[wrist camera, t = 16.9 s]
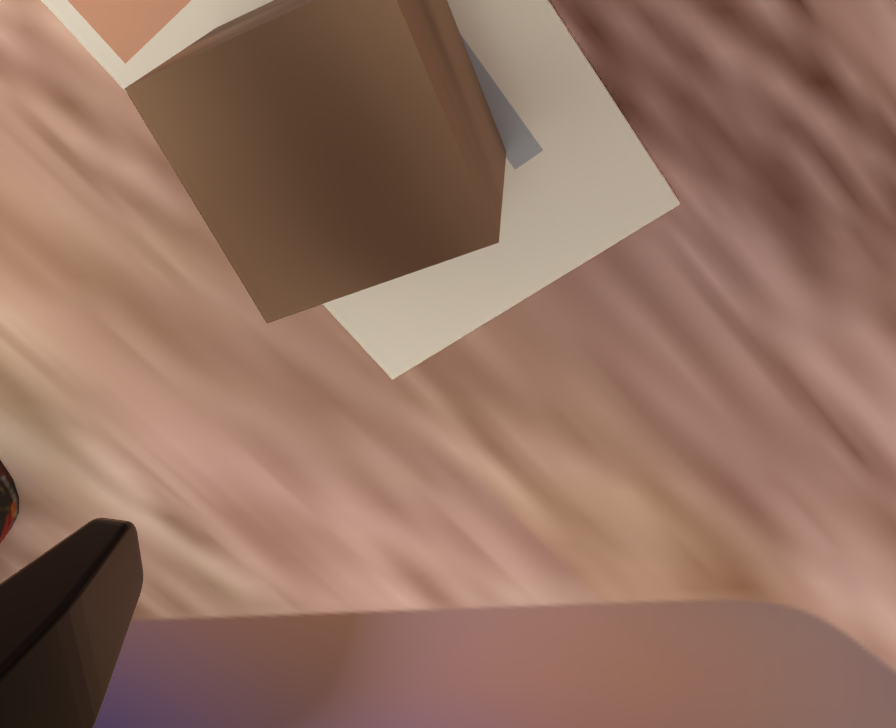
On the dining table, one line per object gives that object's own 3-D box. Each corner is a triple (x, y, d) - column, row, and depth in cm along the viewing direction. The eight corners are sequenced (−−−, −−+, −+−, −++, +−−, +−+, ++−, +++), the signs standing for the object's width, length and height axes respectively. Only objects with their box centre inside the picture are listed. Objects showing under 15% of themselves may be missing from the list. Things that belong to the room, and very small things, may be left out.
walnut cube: (320, 222, 21) (266, 323, 17) (215, 27, 19) (124, 88, 14) (506, 151, 20) (498, 242, 15) (419, -70, 17) (382, -32, 13)
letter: (679, 201, 20) (680, 204, 20) (393, 376, 24) (392, 380, 23) (317, -355, 15) (315, -357, 15) (22, -27, 19) (17, -25, 18)
